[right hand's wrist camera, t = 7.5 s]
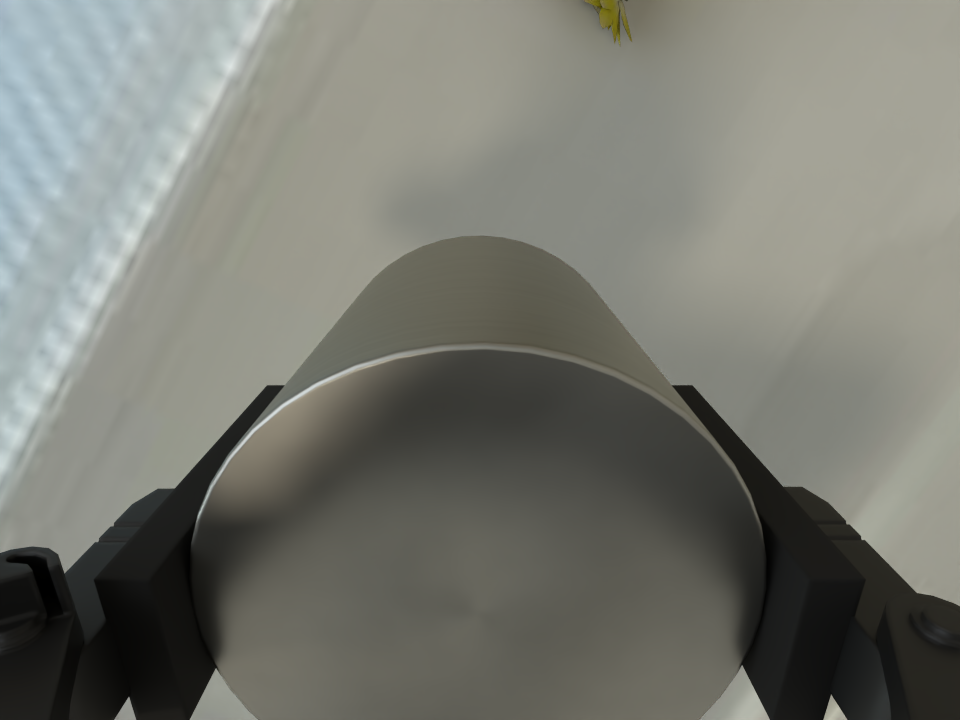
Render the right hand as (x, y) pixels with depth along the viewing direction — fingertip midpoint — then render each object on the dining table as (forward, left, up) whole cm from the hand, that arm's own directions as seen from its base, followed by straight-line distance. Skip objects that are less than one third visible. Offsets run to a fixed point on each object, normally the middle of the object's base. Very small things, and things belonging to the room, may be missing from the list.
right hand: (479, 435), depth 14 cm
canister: (0, 0, -4) cm, 4 cm away
